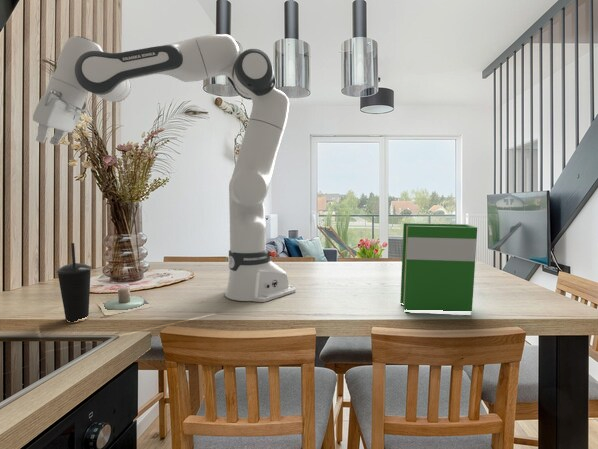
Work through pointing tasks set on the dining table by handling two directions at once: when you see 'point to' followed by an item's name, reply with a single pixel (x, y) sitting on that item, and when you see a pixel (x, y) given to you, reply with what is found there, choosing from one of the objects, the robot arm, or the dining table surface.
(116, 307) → the lid
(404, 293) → the hardback book
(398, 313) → the dining table surface
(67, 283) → the drinking cup
